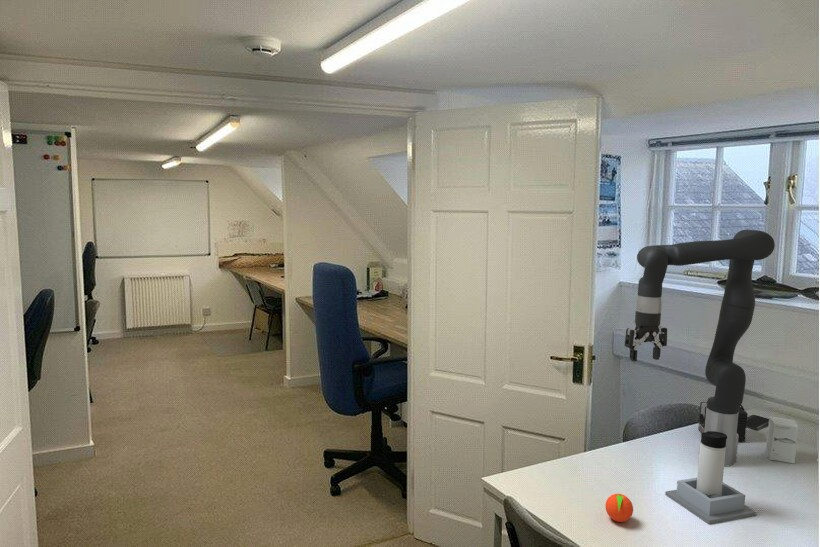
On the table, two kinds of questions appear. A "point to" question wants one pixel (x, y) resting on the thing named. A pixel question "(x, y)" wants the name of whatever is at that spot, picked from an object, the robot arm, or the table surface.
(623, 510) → the clementine
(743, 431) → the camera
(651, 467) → the table surface
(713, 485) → the travel mug
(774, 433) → the supplement box
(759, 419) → the phone
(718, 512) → the mug dock
